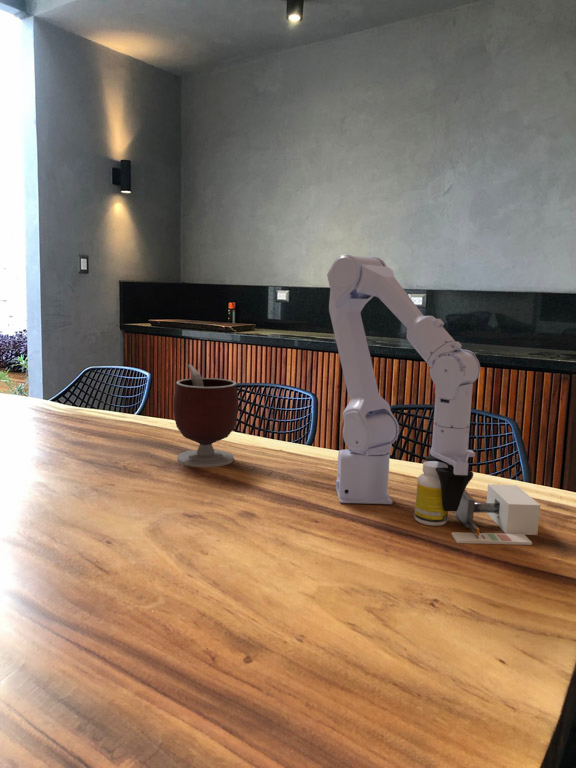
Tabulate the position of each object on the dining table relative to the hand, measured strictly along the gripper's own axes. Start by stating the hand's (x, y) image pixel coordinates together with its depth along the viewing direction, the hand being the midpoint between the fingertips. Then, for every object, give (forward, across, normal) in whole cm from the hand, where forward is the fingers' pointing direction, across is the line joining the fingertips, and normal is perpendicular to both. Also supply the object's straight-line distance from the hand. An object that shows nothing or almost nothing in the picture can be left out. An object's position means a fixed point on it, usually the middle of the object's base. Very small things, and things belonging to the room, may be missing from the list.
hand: (445, 504), depth 103 cm
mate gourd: (+3, +34, +44) cm, 56 cm away
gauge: (+3, -2, -7) cm, 7 cm away
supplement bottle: (+3, 0, +2) cm, 4 cm away
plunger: (+3, -2, -7) cm, 7 cm away
